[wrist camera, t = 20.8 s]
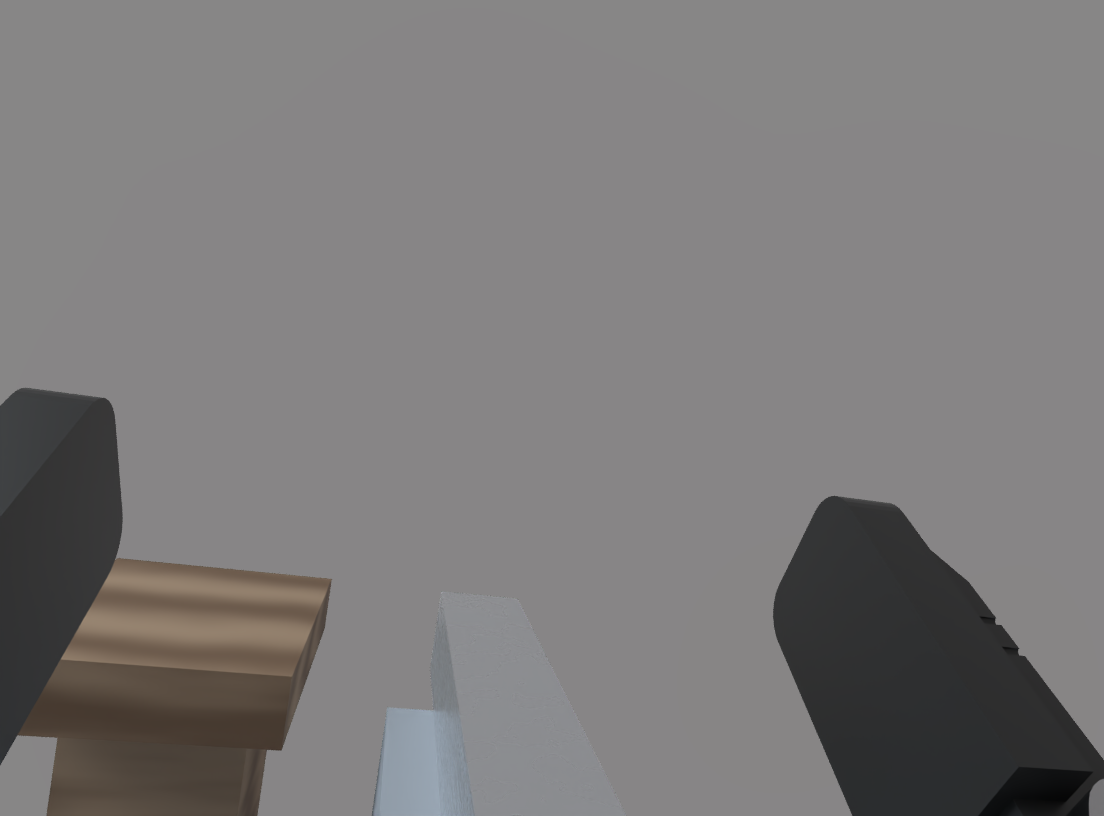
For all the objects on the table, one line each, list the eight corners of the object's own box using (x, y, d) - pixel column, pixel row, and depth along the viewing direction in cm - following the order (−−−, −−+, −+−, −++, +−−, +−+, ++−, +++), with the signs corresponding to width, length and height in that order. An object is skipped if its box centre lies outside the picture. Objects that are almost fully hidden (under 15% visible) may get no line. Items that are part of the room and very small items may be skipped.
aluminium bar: (669, 1160, 15) (698, 958, 15) (465, 1169, 14) (496, 956, 14) (506, 674, 41) (517, 598, 41) (430, 668, 40) (440, 591, 40)
